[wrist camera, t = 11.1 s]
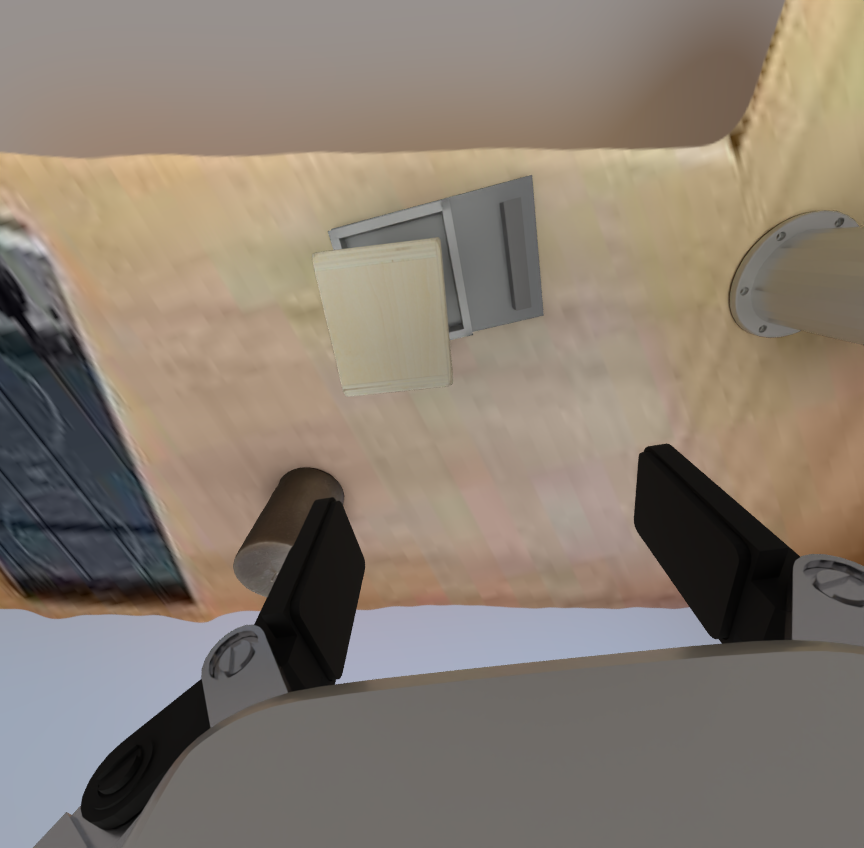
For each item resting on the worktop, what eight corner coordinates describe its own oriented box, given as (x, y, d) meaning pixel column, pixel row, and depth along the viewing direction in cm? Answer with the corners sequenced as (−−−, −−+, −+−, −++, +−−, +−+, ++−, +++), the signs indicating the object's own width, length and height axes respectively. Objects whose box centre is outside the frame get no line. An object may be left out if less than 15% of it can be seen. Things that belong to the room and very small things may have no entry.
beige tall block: (364, 248, 36) (295, 253, 17) (435, 239, 36) (444, 236, 17) (377, 327, 40) (333, 402, 21) (443, 319, 39) (456, 389, 21)
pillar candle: (268, 471, 50) (210, 556, 37) (336, 463, 49) (301, 546, 36) (290, 522, 54) (246, 614, 41) (352, 515, 54) (327, 607, 41)
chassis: (528, 176, 34) (539, 170, 31) (540, 313, 40) (550, 319, 37) (333, 229, 36) (324, 228, 33) (372, 352, 42) (367, 361, 39)
